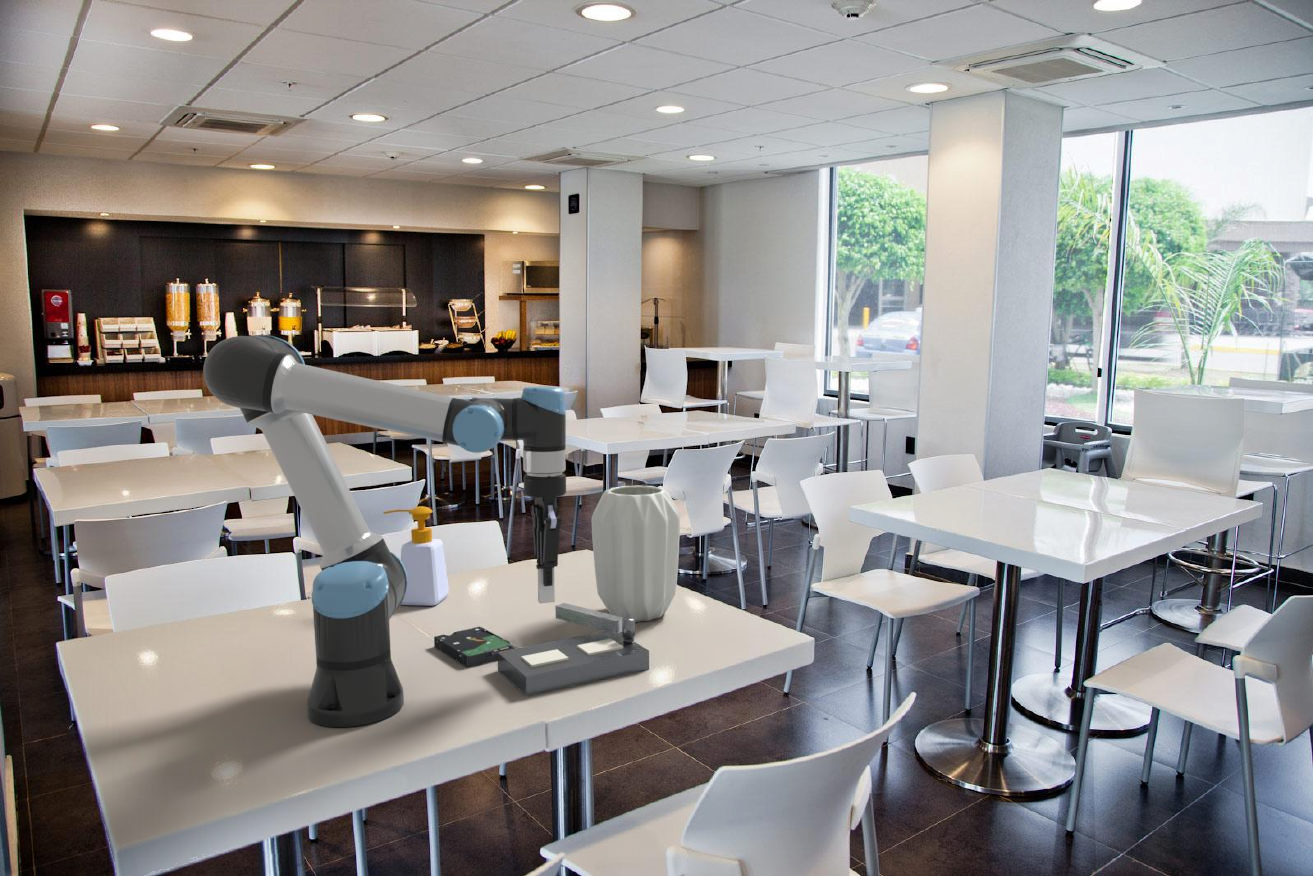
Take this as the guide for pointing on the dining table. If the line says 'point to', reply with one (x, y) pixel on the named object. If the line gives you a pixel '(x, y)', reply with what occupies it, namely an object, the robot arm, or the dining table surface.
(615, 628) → the gray rectangular bar
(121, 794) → the dining table surface
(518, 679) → the plate
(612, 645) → the label
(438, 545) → the soap bottle
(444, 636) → the disk drive
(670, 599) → the vase
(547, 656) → the label
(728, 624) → the dining table surface
